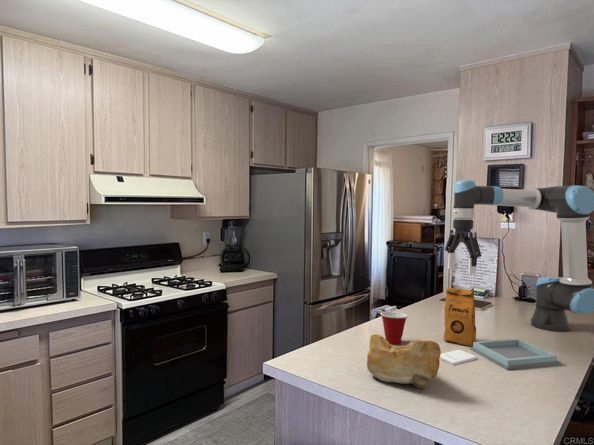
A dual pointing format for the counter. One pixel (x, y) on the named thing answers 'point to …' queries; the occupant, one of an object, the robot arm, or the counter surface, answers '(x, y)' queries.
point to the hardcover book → (478, 304)
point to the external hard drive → (457, 357)
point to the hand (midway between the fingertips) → (461, 271)
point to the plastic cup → (393, 326)
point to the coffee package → (460, 317)
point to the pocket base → (514, 354)
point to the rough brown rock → (403, 361)
